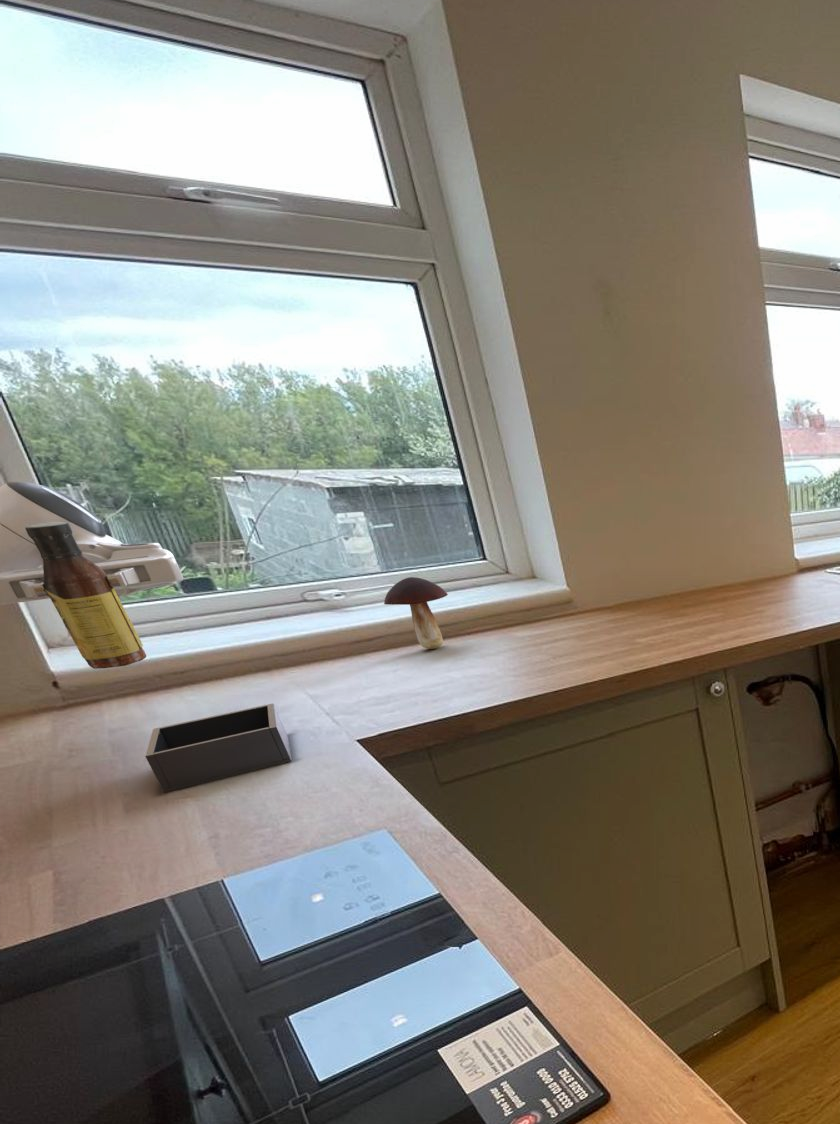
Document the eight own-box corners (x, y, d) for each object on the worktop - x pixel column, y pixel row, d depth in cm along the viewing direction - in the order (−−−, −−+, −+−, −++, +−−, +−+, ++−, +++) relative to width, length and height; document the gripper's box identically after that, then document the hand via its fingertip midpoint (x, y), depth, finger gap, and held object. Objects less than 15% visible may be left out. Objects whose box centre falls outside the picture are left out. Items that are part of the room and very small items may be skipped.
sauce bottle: (107, 660, 119) (36, 521, 111) (159, 654, 120) (93, 517, 112) (75, 673, 113) (-1, 529, 105) (131, 667, 114) (59, 524, 106)
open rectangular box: (164, 793, 109) (145, 756, 107) (170, 763, 119) (152, 728, 117) (291, 761, 117) (276, 726, 115) (287, 735, 127) (273, 703, 125)
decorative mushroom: (475, 642, 172) (452, 572, 166) (425, 658, 163) (399, 585, 157) (439, 639, 176) (416, 570, 170) (389, 654, 167) (362, 582, 160)
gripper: (-25, 562, 113) (-50, 576, 104) (172, 540, 126) (167, 551, 116) (-1, 606, 116) (-23, 624, 106) (190, 580, 128) (186, 594, 118)
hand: (78, 586), depth 111 cm, fingers closed on sauce bottle, 6 cm apart
